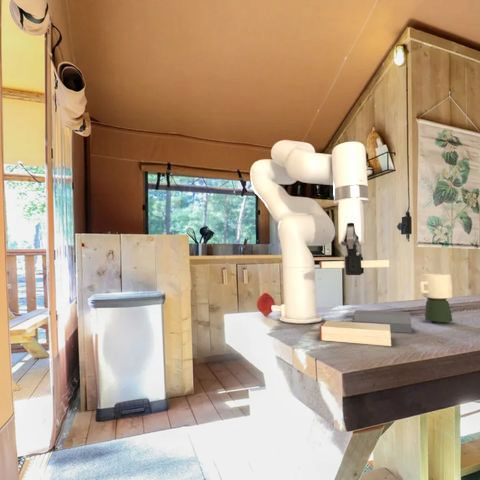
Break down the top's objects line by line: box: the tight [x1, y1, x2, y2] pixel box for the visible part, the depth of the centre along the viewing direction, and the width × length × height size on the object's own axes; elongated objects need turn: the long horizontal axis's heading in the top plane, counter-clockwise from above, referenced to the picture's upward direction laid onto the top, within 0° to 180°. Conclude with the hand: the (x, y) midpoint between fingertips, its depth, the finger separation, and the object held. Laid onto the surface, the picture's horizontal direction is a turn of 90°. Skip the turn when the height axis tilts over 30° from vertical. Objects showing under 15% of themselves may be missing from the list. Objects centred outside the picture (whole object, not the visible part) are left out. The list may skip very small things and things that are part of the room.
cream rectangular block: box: [318, 320, 392, 347], centre depth 68 cm, size 14×7×3 cm, turn 65°
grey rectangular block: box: [351, 309, 413, 334], centre depth 77 cm, size 13×6×4 cm, turn 65°
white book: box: [318, 259, 390, 269], centre depth 69 cm, size 14×7×2 cm, turn 65°
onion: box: [256, 290, 276, 317], centre depth 99 cm, size 6×6×8 cm
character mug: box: [419, 273, 453, 324], centre depth 83 cm, size 11×7×13 cm, turn 107°
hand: (355, 273), depth 69 cm, fingers closed on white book, 7 cm apart
